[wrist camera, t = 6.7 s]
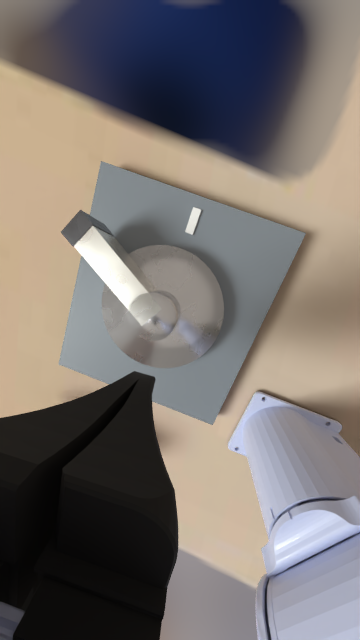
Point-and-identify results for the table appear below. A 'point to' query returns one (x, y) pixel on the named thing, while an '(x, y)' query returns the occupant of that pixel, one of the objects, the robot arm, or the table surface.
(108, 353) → the dial plate
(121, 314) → the dial
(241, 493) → the table surface
